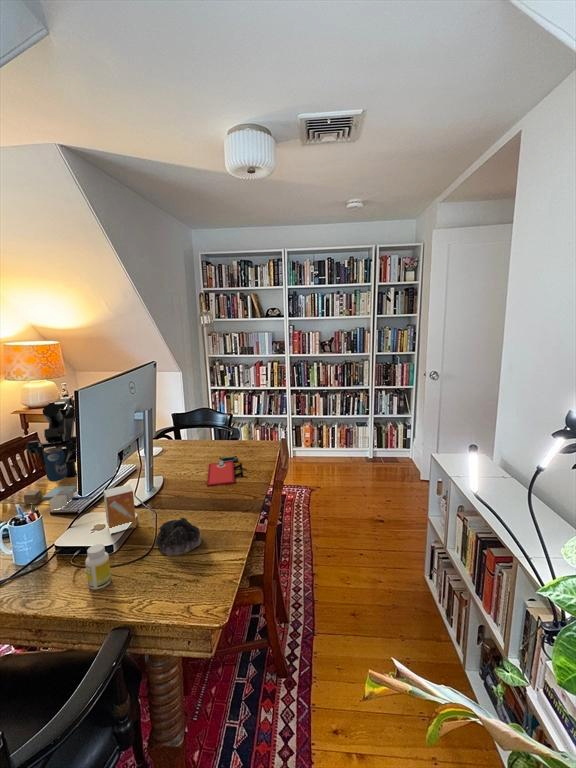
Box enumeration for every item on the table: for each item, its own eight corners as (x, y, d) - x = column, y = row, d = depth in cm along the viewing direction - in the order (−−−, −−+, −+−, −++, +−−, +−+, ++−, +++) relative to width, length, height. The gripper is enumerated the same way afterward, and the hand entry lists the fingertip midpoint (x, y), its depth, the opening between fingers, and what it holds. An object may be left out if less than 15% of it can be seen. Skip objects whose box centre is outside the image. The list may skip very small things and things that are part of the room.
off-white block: (56, 505, 138) (55, 495, 138) (67, 504, 139) (66, 494, 138) (50, 510, 135) (49, 500, 134) (62, 510, 135) (60, 499, 134)
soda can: (62, 482, 143) (57, 452, 141) (43, 482, 143) (39, 453, 141) (71, 474, 150) (67, 446, 148) (53, 475, 150) (49, 447, 147)
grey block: (63, 499, 143) (62, 489, 143) (74, 498, 144) (73, 489, 143) (58, 504, 139) (56, 494, 139) (69, 503, 140) (67, 493, 139)
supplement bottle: (115, 575, 99) (111, 541, 97) (106, 589, 93) (101, 554, 92) (94, 576, 98) (90, 542, 97) (84, 591, 93) (79, 555, 91)
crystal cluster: (170, 532, 120) (164, 505, 117) (210, 531, 117) (204, 503, 115) (150, 561, 107) (142, 531, 104) (194, 561, 105) (187, 530, 102)
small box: (110, 535, 117) (105, 497, 115) (107, 527, 122) (102, 490, 120) (137, 527, 122) (133, 490, 119) (133, 519, 127) (129, 483, 125)
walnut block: (31, 500, 143) (29, 490, 143) (42, 499, 144) (40, 489, 143) (24, 505, 140) (23, 495, 139) (36, 504, 140) (34, 494, 139)
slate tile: (55, 489, 152) (54, 487, 152) (77, 488, 153) (77, 485, 153) (42, 499, 143) (42, 497, 143) (66, 498, 144) (66, 495, 144)
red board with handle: (240, 457, 183) (209, 460, 181) (240, 452, 182) (209, 455, 180) (243, 484, 154) (207, 488, 151) (243, 477, 153) (206, 481, 151)
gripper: (23, 422, 142) (19, 459, 134) (78, 416, 149) (77, 451, 141) (32, 435, 151) (28, 471, 143) (83, 429, 158) (83, 463, 150)
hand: (54, 464), depth 144 cm, fingers closed on soda can, 7 cm apart
